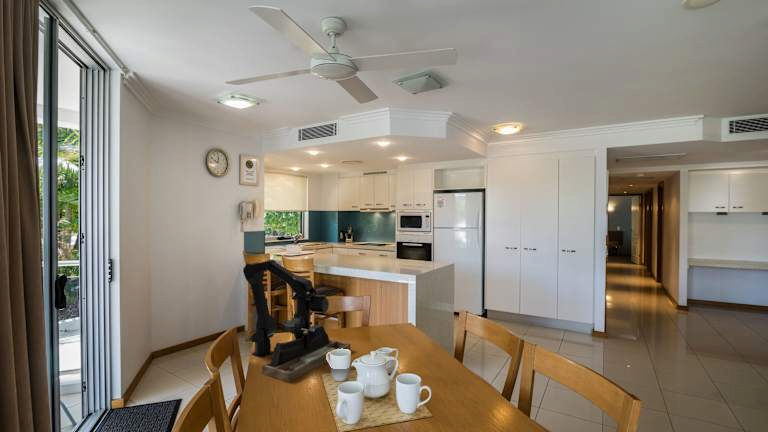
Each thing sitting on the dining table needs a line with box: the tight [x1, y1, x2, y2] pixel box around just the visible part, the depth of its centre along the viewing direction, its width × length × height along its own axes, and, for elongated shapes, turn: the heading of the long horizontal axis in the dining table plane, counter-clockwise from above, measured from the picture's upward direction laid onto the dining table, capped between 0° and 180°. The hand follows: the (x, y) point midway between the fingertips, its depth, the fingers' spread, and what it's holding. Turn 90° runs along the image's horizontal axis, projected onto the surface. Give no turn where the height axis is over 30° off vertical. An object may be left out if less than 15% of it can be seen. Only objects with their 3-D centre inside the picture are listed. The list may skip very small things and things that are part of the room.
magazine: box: [270, 328, 330, 368], centre depth 148 cm, size 17×3×30 cm
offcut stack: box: [287, 347, 334, 372], centre depth 146 cm, size 6×26×4 cm, turn 150°
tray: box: [261, 338, 351, 383], centre depth 148 cm, size 14×36×3 cm, turn 148°
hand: (303, 348), depth 150 cm, fingers closed on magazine, 3 cm apart
